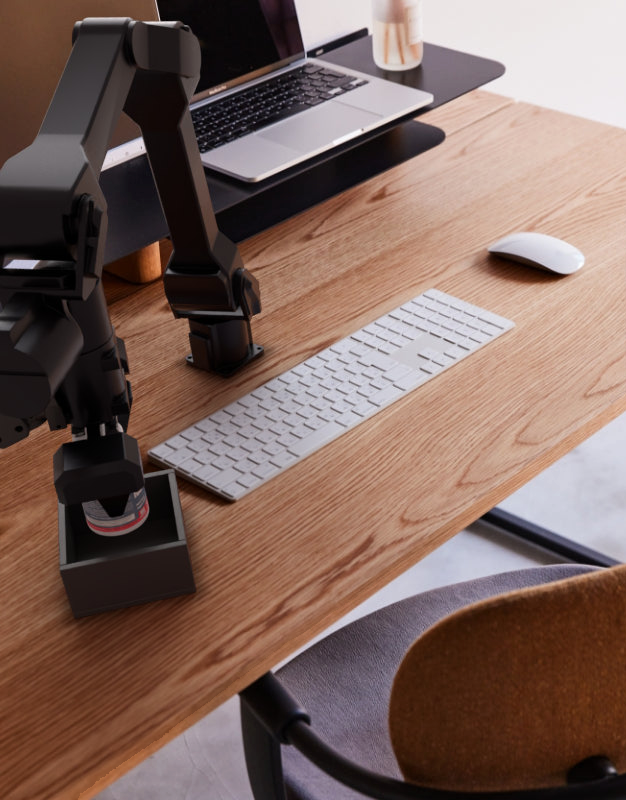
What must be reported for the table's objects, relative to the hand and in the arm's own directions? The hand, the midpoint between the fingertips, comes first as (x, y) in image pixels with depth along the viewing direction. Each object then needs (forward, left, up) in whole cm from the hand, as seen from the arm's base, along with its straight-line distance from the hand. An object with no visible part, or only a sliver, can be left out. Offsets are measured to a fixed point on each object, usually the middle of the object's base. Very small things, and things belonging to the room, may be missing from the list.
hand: (114, 493), depth 89 cm
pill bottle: (0, 0, -3) cm, 3 cm away
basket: (0, 0, -8) cm, 8 cm away
